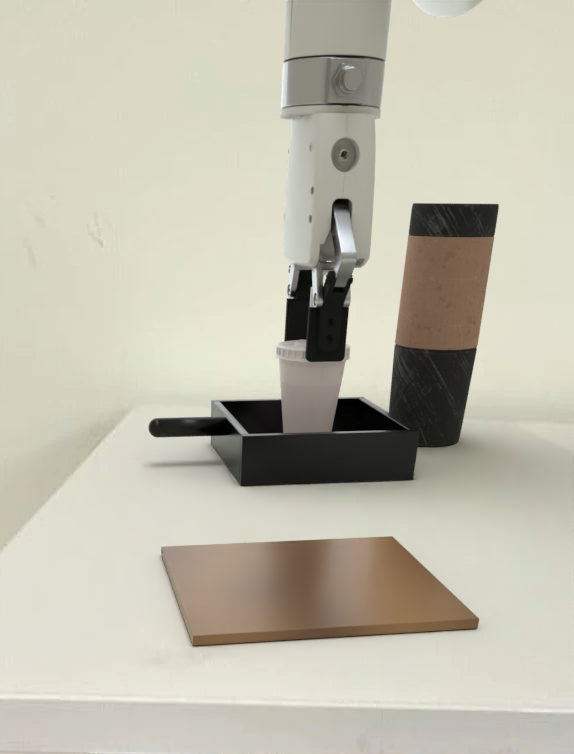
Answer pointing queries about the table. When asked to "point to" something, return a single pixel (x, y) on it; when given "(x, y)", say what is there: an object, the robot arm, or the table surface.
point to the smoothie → (308, 387)
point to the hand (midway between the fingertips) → (312, 352)
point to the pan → (302, 443)
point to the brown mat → (308, 590)
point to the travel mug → (440, 316)
